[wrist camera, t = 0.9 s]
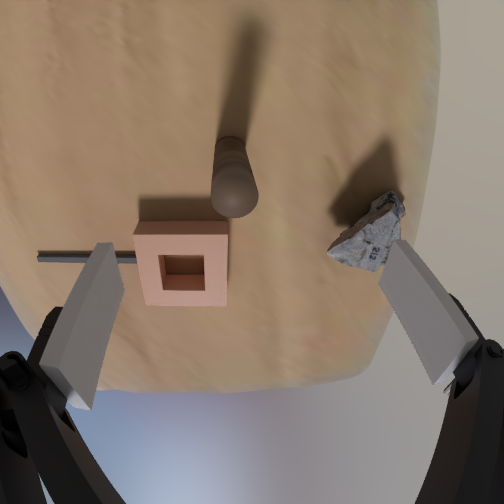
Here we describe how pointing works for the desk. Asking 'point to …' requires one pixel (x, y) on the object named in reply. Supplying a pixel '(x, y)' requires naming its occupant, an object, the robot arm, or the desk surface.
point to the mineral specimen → (370, 235)
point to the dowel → (232, 179)
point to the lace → (82, 258)
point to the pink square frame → (182, 243)
